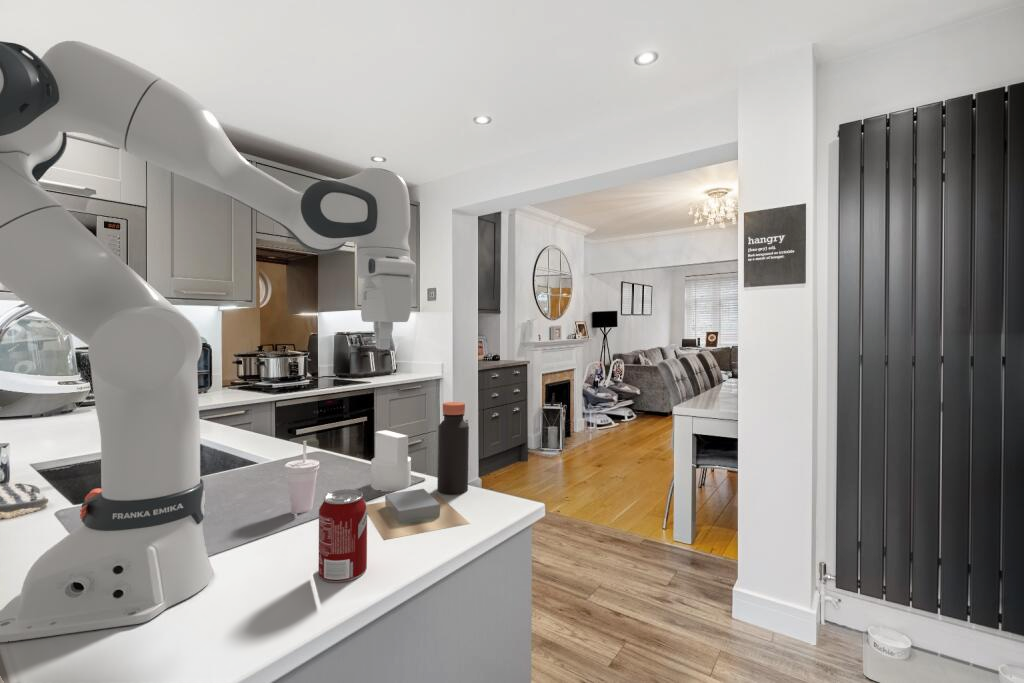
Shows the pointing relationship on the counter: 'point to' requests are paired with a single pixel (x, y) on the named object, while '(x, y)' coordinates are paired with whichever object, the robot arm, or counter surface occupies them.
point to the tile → (412, 506)
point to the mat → (394, 530)
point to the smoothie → (301, 482)
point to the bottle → (453, 450)
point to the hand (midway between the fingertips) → (382, 349)
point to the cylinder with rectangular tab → (390, 462)
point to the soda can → (342, 536)
